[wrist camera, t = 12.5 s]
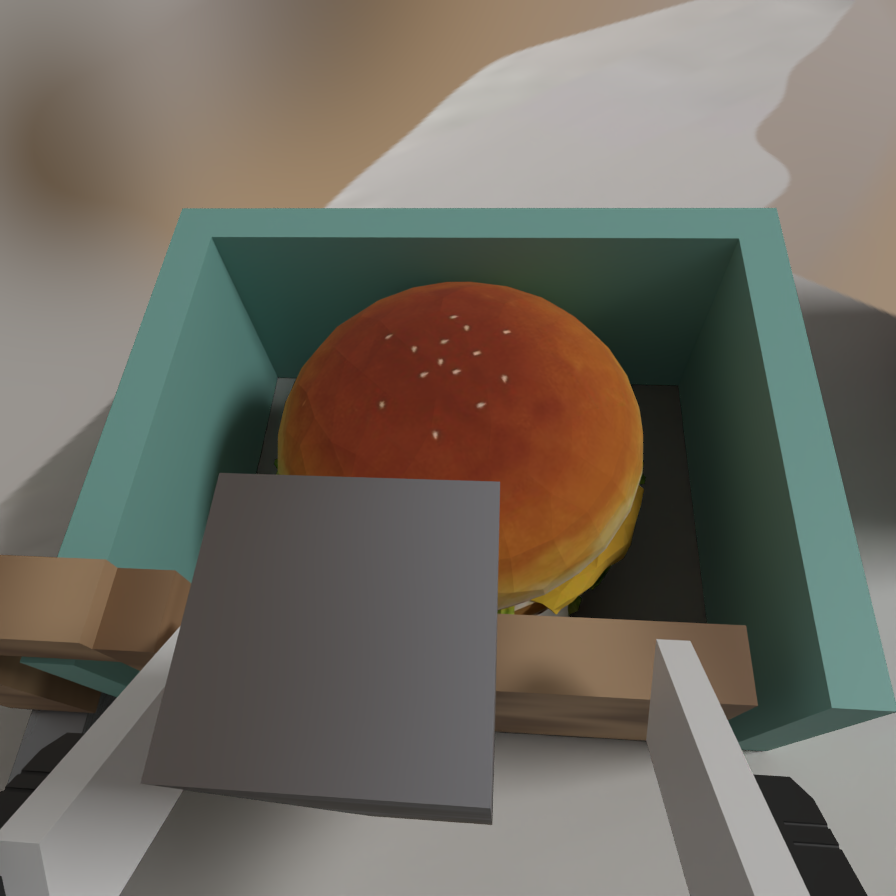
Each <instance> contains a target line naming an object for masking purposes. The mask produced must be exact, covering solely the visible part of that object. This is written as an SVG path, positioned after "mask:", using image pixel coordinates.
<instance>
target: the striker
mask: <svg viewBox="0 0 896 896" xmlns="http://www.w3.org/2000/svg"><path fill="white" fill-rule="evenodd" d="M499 512H500V482H493V481H461V480H429V479H398V478H366V477H334V476H303V475H271V474H239V473H219V476H218V480H217V484H216V488H215V492H214V496H213V500H212V504H211V508H210V512H209V516H208V520H207V524H206V528H205V531H204V535H203V539H202V543H201V547H200V551H199V555H198V559H197V563H196V567H195V571H194V575H193V579H192V583H190V582H189V581H188V580H187V579H185V578H184V577H183V576H182V575H181V574H179V573H178V572H177V571H176V570H156V569H134V568H117V567H116V566H114V565H113V564H111V563H110V562H109V561H107V560H106V559H84V558H60V557H37V556H13V555H0V705H2V706H6V707H10V708H19V709H36V710H52V711H68V712H84V713H95V712H96V709H97V706H98V702H99V699H100V695H101V692H100V691H98V690H95V689H92V688H89V687H87V686H84V685H81V684H78V683H75V682H73V681H70V680H67V679H64V678H62V677H59V676H56V675H53V674H51V673H48V672H45V671H42V670H39V669H37V668H34V667H31V666H28V665H26V664H23V663H20V659H21V657H40V658H58V659H76V660H94V661H112V662H122V663H124V664H126V665H128V666H130V667H133V668H135V669H137V670H139V671H141V670H142V669H143V668H144V667H145V665H146V664H147V663H148V662H149V661H150V660H151V659H152V657H153V656H154V655H155V654H156V653H157V652H158V651H159V650H160V648H161V647H162V646H163V645H164V644H165V643H166V642H167V641H168V639H169V638H170V637H171V636H172V635H173V634H174V633H175V632H176V630H177V629H178V628H179V627H180V630H179V634H178V638H177V642H176V646H175V649H174V653H173V657H172V661H171V665H170V669H169V673H168V677H167V681H166V685H165V689H164V693H163V697H162V701H161V705H160V708H159V712H158V716H157V720H156V724H155V728H154V732H153V736H152V740H151V744H150V748H149V752H148V756H147V760H146V764H145V767H144V771H143V775H142V779H141V783H140V784H146V785H153V786H161V787H168V788H175V789H182V790H189V791H196V792H203V793H211V794H218V795H225V796H232V797H239V798H246V799H254V800H261V801H268V802H275V803H282V804H289V805H296V806H304V807H311V808H318V809H325V810H332V811H339V812H346V813H354V814H361V815H368V816H377V817H391V818H405V819H419V820H433V821H447V822H460V823H474V824H488V825H492V813H493V777H494V742H495V731H498V732H514V733H531V734H547V735H563V736H580V737H596V738H612V739H629V740H645V741H646V738H647V728H648V718H649V707H650V697H651V687H652V677H653V667H654V657H655V646H656V639H663V640H684V641H691V643H692V645H693V648H694V650H695V652H696V654H697V656H698V658H699V660H700V662H701V665H702V667H703V669H704V671H705V673H706V675H707V677H708V679H709V682H710V684H711V686H712V688H713V690H714V692H715V694H716V696H717V699H718V701H719V703H720V705H721V707H722V709H723V711H724V713H725V716H726V718H727V720H729V719H732V718H734V717H736V716H738V715H740V714H742V713H744V712H746V711H748V710H750V709H752V708H754V707H756V706H758V702H757V695H756V688H755V681H754V675H753V668H752V661H751V654H750V648H749V641H748V634H747V627H746V625H727V624H706V623H685V622H663V621H642V620H621V619H600V618H579V617H557V616H536V615H515V614H497V612H498V562H499Z"/></svg>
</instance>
